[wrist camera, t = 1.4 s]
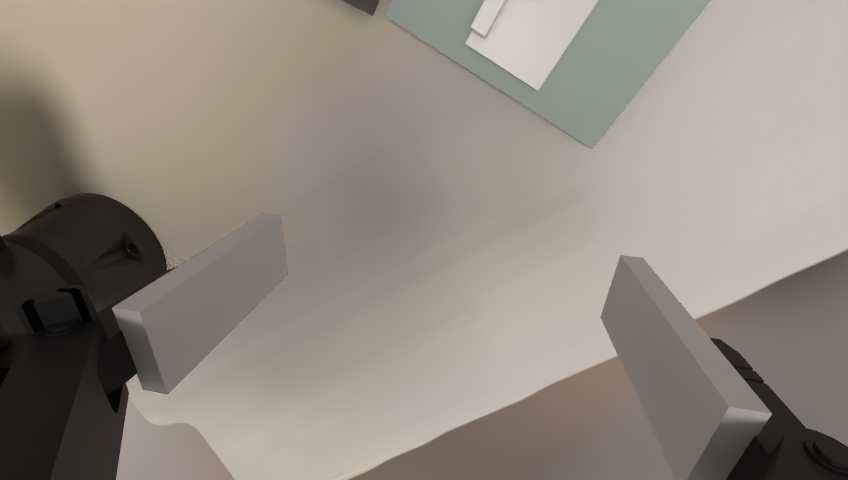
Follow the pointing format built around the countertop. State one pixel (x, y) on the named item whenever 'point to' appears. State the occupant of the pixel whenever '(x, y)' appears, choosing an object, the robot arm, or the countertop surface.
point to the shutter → (527, 34)
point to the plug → (364, 5)
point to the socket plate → (566, 56)
